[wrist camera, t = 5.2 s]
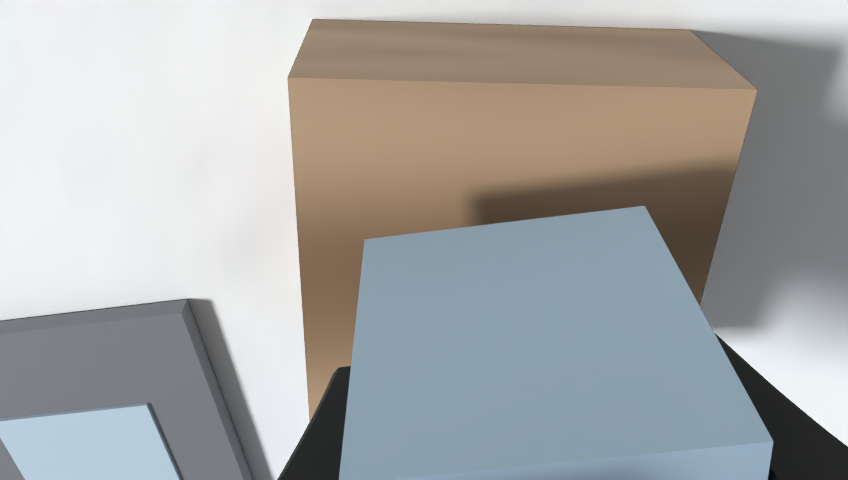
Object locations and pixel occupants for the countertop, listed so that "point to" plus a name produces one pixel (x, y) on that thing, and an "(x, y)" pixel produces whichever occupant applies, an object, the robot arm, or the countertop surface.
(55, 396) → the card
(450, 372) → the slate block
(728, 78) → the base block
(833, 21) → the countertop surface
